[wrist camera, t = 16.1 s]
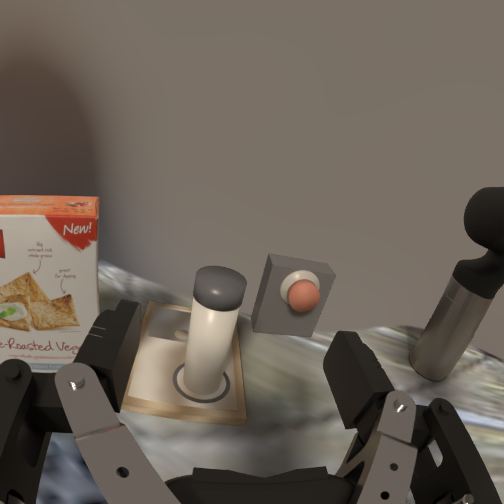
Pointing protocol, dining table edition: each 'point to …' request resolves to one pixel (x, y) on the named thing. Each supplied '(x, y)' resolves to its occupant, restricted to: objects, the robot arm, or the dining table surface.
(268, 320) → the button panel
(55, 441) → the dining table surface
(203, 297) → the white shaker grey cap
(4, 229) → the cracker box
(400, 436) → the robot arm
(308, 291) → the button
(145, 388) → the beige board with ring
